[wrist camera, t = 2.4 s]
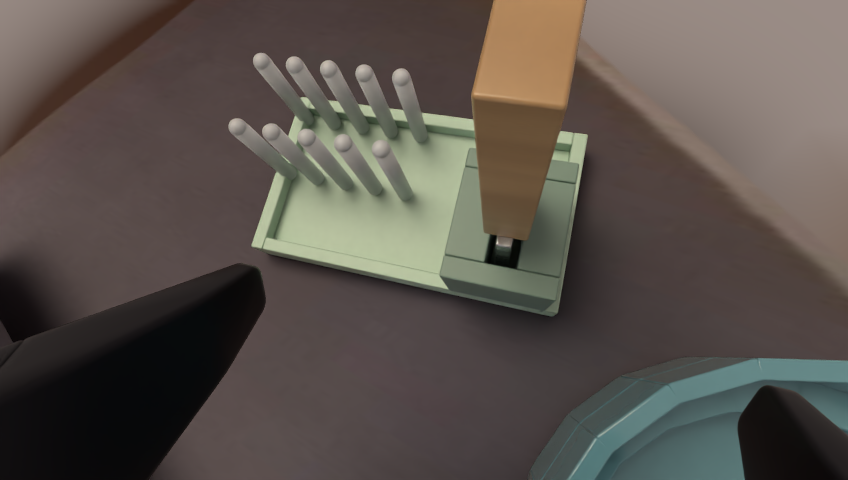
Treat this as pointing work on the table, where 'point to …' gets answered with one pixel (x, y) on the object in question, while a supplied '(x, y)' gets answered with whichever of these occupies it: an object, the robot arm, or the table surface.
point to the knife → (521, 109)
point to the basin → (681, 418)
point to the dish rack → (401, 193)
